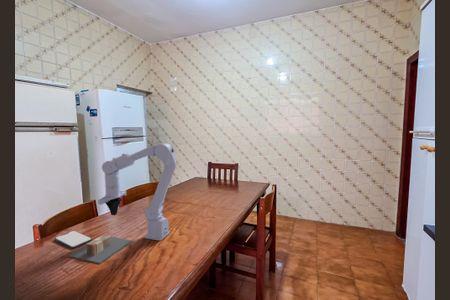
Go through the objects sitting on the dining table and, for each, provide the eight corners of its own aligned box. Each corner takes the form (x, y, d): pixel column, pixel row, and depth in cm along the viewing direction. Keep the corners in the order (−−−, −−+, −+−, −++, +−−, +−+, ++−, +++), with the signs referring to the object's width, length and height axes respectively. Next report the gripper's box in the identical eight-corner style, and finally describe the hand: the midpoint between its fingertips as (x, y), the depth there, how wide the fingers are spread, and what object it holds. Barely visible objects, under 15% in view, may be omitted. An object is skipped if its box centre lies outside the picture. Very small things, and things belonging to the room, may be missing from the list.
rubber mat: (132, 241, 97) (132, 240, 97) (100, 263, 81) (100, 262, 81) (104, 236, 102) (104, 235, 102) (68, 256, 86) (68, 255, 86)
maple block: (110, 236, 93) (94, 245, 85) (110, 245, 93) (94, 255, 85) (102, 234, 94) (86, 243, 86) (103, 243, 94) (86, 253, 87)
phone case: (93, 241, 98) (74, 233, 106) (93, 238, 98) (74, 230, 106) (72, 251, 91) (53, 241, 98) (72, 247, 90) (53, 238, 98)
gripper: (117, 181, 108) (118, 208, 109) (92, 189, 94) (93, 219, 96) (129, 182, 106) (130, 209, 107) (104, 190, 92) (106, 221, 94)
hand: (114, 214), depth 101 cm, fingers closed
